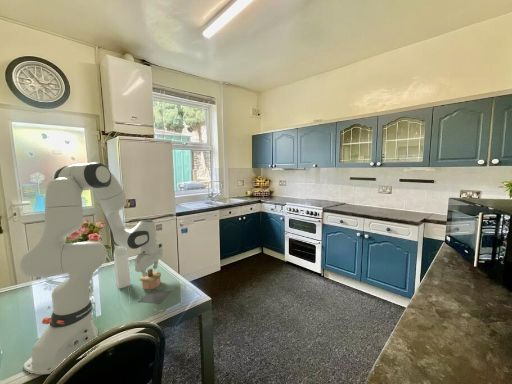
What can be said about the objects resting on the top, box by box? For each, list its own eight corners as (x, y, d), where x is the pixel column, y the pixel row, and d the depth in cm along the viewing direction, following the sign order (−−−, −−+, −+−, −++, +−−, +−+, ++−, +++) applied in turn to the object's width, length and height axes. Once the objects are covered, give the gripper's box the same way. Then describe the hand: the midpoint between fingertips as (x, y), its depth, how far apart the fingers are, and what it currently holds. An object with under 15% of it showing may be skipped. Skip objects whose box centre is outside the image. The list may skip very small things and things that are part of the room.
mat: (160, 304, 115) (159, 303, 115) (137, 302, 117) (137, 301, 117) (172, 291, 127) (172, 290, 127) (152, 289, 129) (151, 288, 129)
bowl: (154, 290, 128) (153, 281, 127) (138, 289, 129) (138, 280, 129) (163, 281, 137) (162, 273, 136) (148, 280, 138) (148, 272, 138)
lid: (153, 282, 126) (153, 274, 126) (135, 281, 128) (134, 273, 127) (164, 273, 137) (164, 265, 136) (147, 271, 139) (146, 264, 138)
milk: (130, 285, 134) (127, 248, 131) (118, 289, 129) (115, 250, 127) (127, 281, 138) (124, 245, 135) (115, 285, 134) (112, 247, 131)
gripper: (141, 256, 119) (143, 281, 121) (163, 242, 139) (165, 264, 141) (130, 255, 120) (132, 280, 122) (154, 242, 141) (155, 264, 142)
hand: (150, 272), depth 132 cm, fingers open, 8 cm apart
